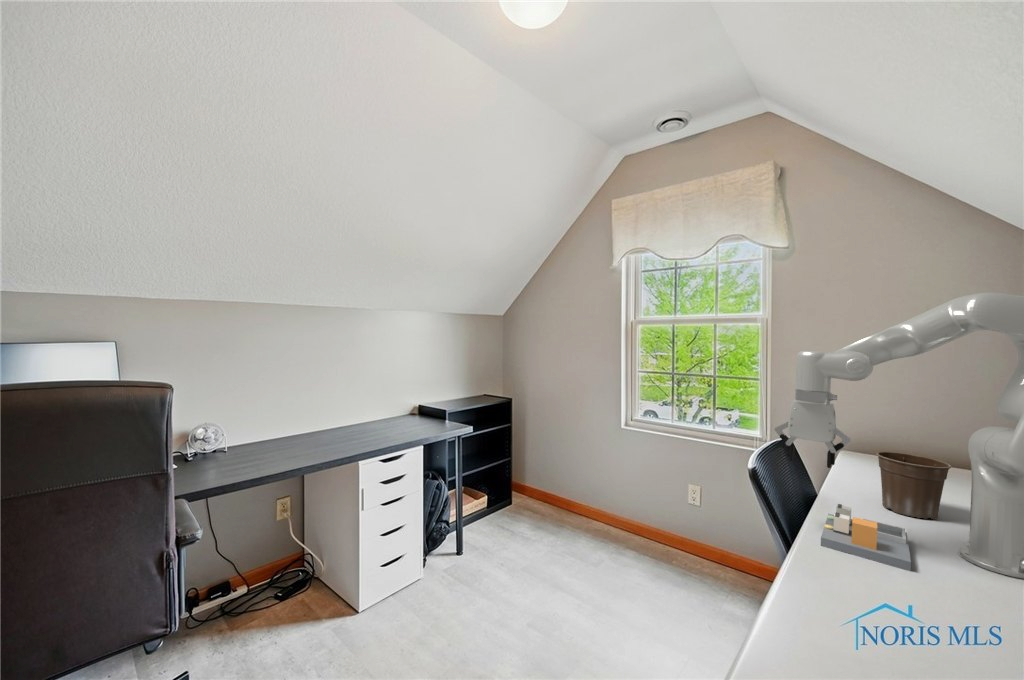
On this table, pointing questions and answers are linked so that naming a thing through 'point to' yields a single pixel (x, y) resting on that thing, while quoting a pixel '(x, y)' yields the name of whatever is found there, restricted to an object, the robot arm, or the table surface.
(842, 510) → the toggle
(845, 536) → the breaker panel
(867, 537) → the cap
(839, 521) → the cube with dark stripe
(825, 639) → the table surface
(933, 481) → the plant pot
